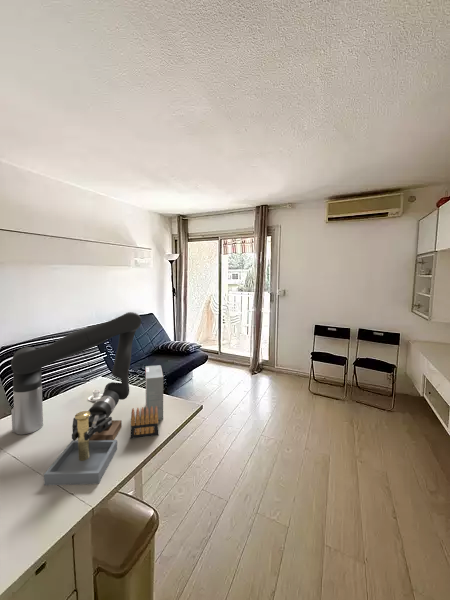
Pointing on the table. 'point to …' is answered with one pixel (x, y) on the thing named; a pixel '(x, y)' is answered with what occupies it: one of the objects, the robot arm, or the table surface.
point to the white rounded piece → (95, 395)
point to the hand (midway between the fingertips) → (79, 437)
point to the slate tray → (81, 464)
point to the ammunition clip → (144, 423)
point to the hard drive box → (154, 389)
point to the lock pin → (83, 434)
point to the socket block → (108, 431)
